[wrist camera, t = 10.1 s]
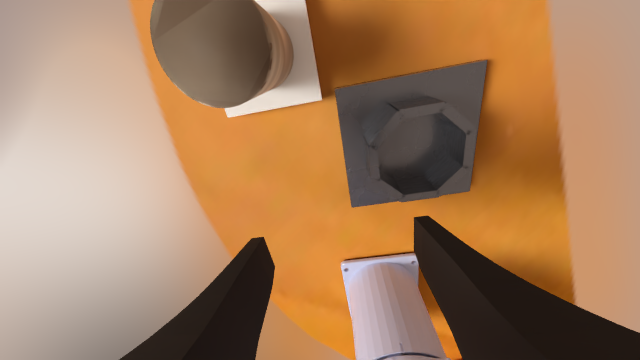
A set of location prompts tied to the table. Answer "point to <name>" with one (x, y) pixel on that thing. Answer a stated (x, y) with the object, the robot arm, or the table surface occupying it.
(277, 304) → the table surface
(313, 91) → the tile pad
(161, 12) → the tan cylinder
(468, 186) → the housing
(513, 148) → the table surface
